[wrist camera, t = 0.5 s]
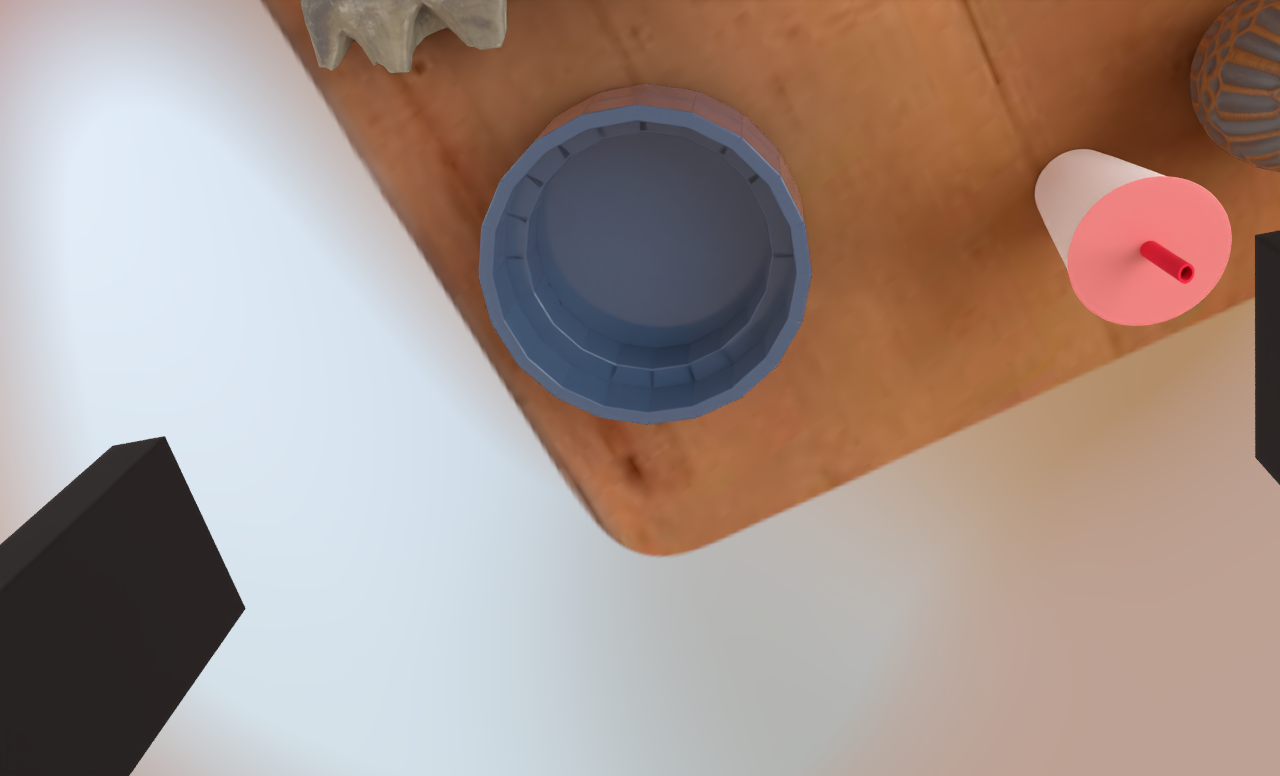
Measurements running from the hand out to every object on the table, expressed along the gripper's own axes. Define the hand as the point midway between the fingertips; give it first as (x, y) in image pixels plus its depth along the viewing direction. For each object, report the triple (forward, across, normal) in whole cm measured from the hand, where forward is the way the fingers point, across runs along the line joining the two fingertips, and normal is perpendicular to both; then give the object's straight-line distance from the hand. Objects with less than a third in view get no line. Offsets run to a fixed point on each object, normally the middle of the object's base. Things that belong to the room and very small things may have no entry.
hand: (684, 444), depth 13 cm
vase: (+34, +20, -5) cm, 40 cm away
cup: (+34, +13, -9) cm, 38 cm away
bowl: (+34, -5, -7) cm, 35 cm away
